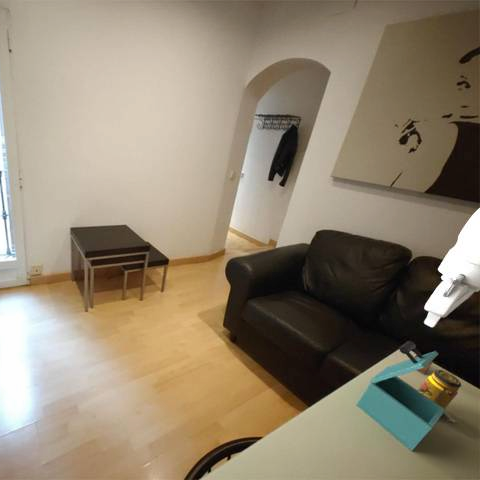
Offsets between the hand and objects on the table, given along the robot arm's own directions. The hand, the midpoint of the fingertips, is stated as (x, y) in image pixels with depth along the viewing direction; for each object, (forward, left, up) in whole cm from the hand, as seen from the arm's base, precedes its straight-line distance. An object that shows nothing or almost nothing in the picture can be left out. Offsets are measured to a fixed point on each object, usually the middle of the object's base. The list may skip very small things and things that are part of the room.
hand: (435, 319), depth 65 cm
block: (-1, -29, -29) cm, 41 cm away
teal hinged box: (-4, +4, -29) cm, 30 cm away
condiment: (-8, -12, -29) cm, 32 cm away
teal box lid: (-1, +4, -14) cm, 15 cm away
